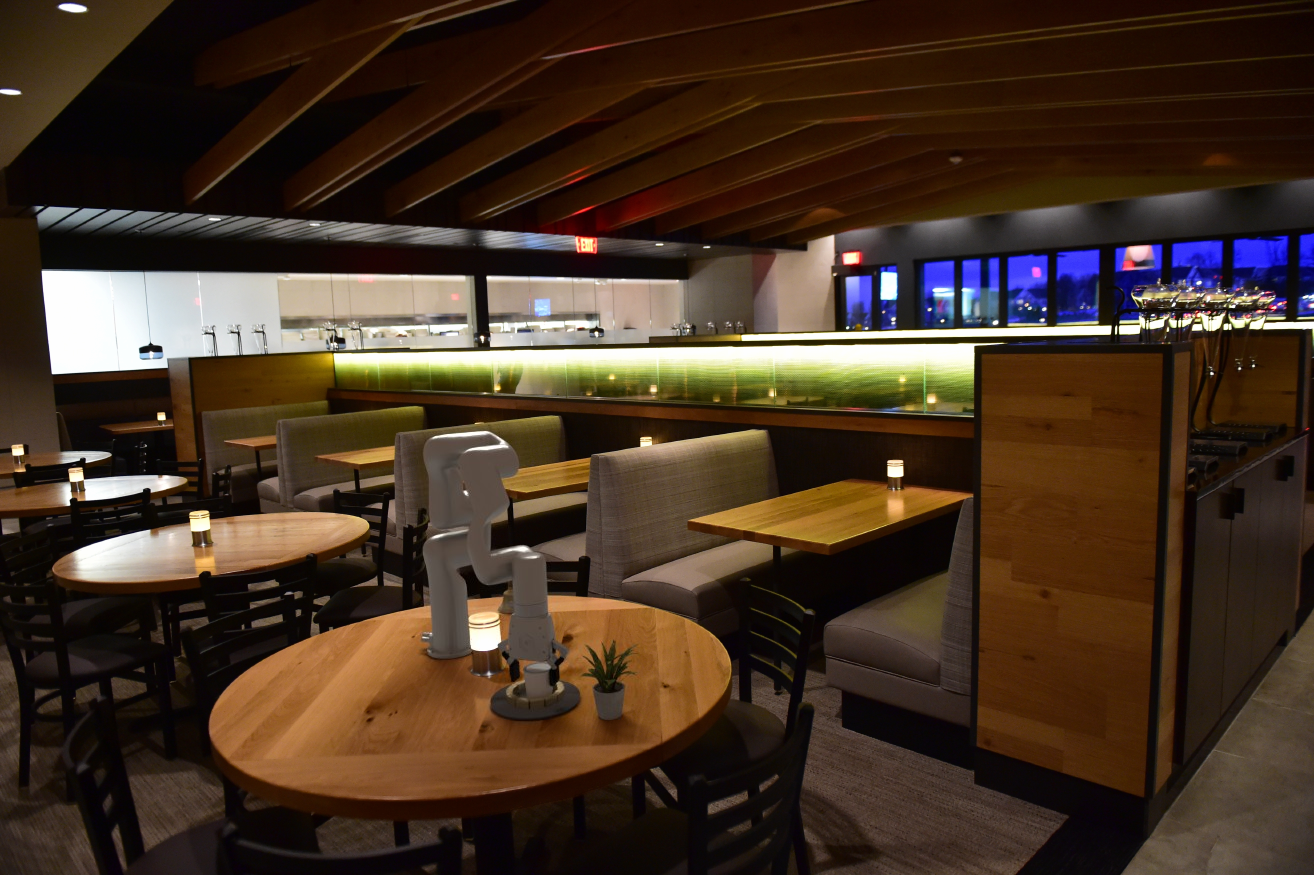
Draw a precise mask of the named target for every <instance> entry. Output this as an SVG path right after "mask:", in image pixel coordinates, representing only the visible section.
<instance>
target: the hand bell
mask: <svg viewBox="0 0 1314 875" xmlns="http://www.w3.org/2000/svg"><path fill="white" fill-rule="evenodd" d="M513 601H514V599H513V580H511V581H507V589H506V590H505V591H504V592H503V596H502V601H501V604H500V606H498V608H497V612H499V613H500V614H513V613H514V612H513V608H510V607H509V603H510V602H513Z"/></svg>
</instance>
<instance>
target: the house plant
mask: <svg viewBox="0 0 1314 875" xmlns="http://www.w3.org/2000/svg"><path fill="white" fill-rule="evenodd" d="M616 644H617V642H616V639H612V643H611V645H610V647H609V650H607V649H606V646H605V645H604V642H602V641H601V646H602V649H603V654H602V656H603V657H604V662H605V663H604V664H605V667H606V668H604V665H603V662H602V661H601V659H600V658H599V656H598V654H597V652H596V651H595V650H593V649H592V647H590V646H589V645H587V644H584V646H585V647H586V649H587V650H588V652H589V653H590V654H589V655H590V656H591V658H592V660H593V661H592V660H591V659H590V658H588V657H587V656H585V655H582V658H583V659H585V660H587V662H588V663H589V664H591V665H592V667H593V668H592V667H591V668H588V672H585V673H582V674H581V675H580V676H579V677H585V678H586V677H589V678H595V679H596V680H597V682H596V683H595V684H594V685H593V686H592V693H593V697H594V702H595V708H596V711H597V717H599V718H600V719H601V720H606V721H610V720H611V721H613V720H616V719H619V718H621V716H622V715H623V708H624V699H625V693H626V692H625V691H626V685H625V683H624V682H622V681H623V680H624V679H625V677H623V678H622V680H620V681H618V678H620V677H621V676H623V675H626V674H627V675H626V677H628V676H629V675H635V676H637V675H636V674H638V672H637V671H636V672H635V671H631V670H629V671H628V670H627V669H628V668H630V666H628V665H627V664H628V663H631V662H632V661H633V660H632V659H630V660H627V661H624V660H626V659H625V658H627V657H629V656H632V655H639V654H641V653H639V652H633V651H634V648H635V647H637V646H638V645H639V643H637V644H633V645H632V646H630V647H629V648H627V649H626V650H625V651H624V652H623V653H620V654H618V655H616V653H617V651H616ZM617 659H618V660H617ZM615 660H617V662H615ZM625 670H627V671H625ZM637 678H638V677H637Z"/></svg>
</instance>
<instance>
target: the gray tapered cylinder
mask: <svg viewBox="0 0 1314 875" xmlns="http://www.w3.org/2000/svg"><path fill="white" fill-rule="evenodd" d="M550 669H551V667H550V665H549V664H548V663H547V662H546V661H545V662H536V661H535V662H532V663H529V664H526V665H525V666H524V667H523V670H522V672H523V673H522V674H523V677H524V678H523V680H525V686H526V693H527V699H534V698H543V697H545V696H548V695H551V694H552V692H553V686H550V678H549V670H550Z"/></svg>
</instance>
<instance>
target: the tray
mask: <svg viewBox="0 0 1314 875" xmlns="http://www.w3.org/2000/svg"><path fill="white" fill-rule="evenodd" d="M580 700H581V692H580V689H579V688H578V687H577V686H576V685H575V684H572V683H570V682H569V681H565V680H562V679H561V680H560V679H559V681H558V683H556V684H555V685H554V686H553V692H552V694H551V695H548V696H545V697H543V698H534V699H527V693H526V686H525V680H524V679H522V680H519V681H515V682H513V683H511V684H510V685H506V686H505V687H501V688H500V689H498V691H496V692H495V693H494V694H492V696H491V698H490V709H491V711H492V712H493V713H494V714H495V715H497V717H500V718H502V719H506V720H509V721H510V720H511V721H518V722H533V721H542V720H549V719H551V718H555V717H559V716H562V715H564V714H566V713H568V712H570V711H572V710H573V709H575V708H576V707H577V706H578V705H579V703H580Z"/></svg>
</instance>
